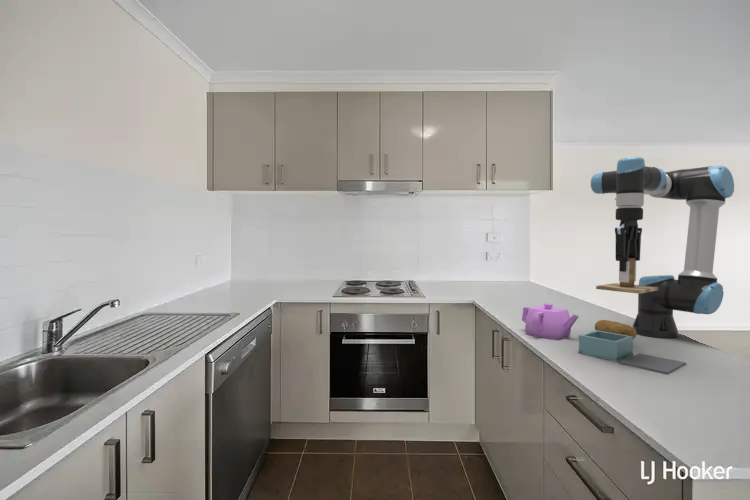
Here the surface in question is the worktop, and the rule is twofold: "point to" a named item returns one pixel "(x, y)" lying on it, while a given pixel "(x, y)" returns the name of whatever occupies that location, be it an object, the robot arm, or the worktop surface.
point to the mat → (653, 363)
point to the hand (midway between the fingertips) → (627, 281)
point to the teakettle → (548, 321)
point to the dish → (606, 345)
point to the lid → (628, 283)
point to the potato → (615, 328)
